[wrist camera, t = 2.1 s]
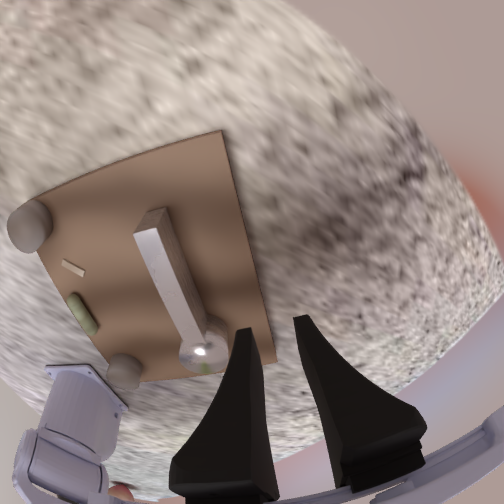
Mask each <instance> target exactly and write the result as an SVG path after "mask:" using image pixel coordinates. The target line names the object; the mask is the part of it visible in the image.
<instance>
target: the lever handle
mask: <svg viewBox="0 0 504 504" xmlns="http://www.w3.org/2000/svg"><path fill="white" fill-rule="evenodd" d="M133 236H134V238H135V241H136V243H137V246H138V248H139V250H140V252H141V255H142V257H143V259H144V262H145V264H146V266H147V268H148V271H149V273H150V275H151V277H152V279H153V281H154V284H155V286H156V288H157V290H158V292H159V294H160V296H161V298H162V300H163V302H164V304H165V306H166V308H167V310H168V312H169V314H170V316H171V318H172V320H173V322H174V324H175V326H176V328H177V330H178V332H179V334H180V336H181V343H180V351H179V361H180V363H181V364H182V365H183V366H184V367H185V368H186V369H188V370H190V371H192V372H195V373H200V374H212V373H216V372H219V371H221V370H222V369H224V368H225V367H226V366H227V364H228V360H229V359H228V332H227V326H226V324H225V323H224V322H223V321H222V320H221V319H219V318H217V317H215V316H213V315H208V314H207V313H206V311H205V308H204V306H203V304H202V301H201V299H200V296H199V294H198V291H197V289H196V286H195V284H194V281H193V279H192V276H191V273H190V271H189V268H188V266H187V263H186V260H185V258H184V255H183V252H182V250H181V247H180V244H179V242H178V239H177V236H176V233H175V230H174V228H173V225H172V222H171V219H170V216H169V213H168V210H167V208H166V207H164V208H160V209H157V210H153V211H150V212H146V213H145V215H144V216H143V218H142V220H141V221H140V223H139V224H138V226H137V228H136V229H135V231H134V233H133Z"/></svg>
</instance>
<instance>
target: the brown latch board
mask: <svg viewBox="0 0 504 504" xmlns="http://www.w3.org/2000/svg"><path fill="white" fill-rule="evenodd" d="M164 207H166V208H167V210H168V213H169V216H170V219H171V222H172V225H173V228H174V230H175V233H176V236H177V239H178V242H179V244H180V247H181V250H182V252H183V255H184V258H185V260H186V263H187V266H188V268H189V271H190V273H191V276H192V279H193V281H194V284H195V286H196V289H197V291H198V294H199V296H200V299H201V301H202V304H203V306H204V308H205V311H206V313H207V314H208V315H213V316H215V317H217V318H219V319H221V320H222V321H223V322H224V323H225V324H226V326H227V332H228V359H230V356H231V352H232V348H233V344H234V339H235V333H236V331H237V330H238V329H243V328H248V327H251V328H252V332H253V335H254V338H255V341H256V344H257V348H258V351H259V354H260V359H261V364H262V365H266V364H271V363H276V362H278V361H277V356H276V351H275V346H274V342H273V338H272V334H271V330H270V326H269V322H268V318H267V314H266V310H265V306H264V302H263V298H262V294H261V290H260V286H259V282H258V277H257V273H256V269H255V265H254V261H253V257H252V253H251V249H250V245H249V241H248V237H247V233H246V229H245V225H244V221H243V216H242V212H241V208H240V204H239V200H238V196H237V192H236V188H235V184H234V180H233V176H232V172H231V168H230V164H229V159H228V155H227V151H226V147H225V143H224V139H223V135H222V131H221V130H218V131H214V132H210V133H207V134H203V135H199V136H195V137H192V138H188V139H185V140H181V141H178V142H174V143H171V144H168V145H164V146H161V147H158V148H155V149H152V150H149V151H146V152H143V153H140V154H137V155H134V156H131V157H128V158H126V159H123V160H120V161H117V162H115V163H112V164H109V165H107V166H104V167H102V168H99V169H97V170H94V171H92V172H89V173H87V174H85V175H82V176H80V177H78V178H75V179H73V180H71V181H68V182H66V183H64V184H62V185H60V186H57V187H55V188H53V189H51V190H49V191H47V192H45V193H43V194H41V195H39V196H37V197H35V198H33V199H31V200H29V201H27V202H26V203H24V204H23V205H21V206H20V207H19V208H17V210H16V211H14V212H13V213H12V214H11V215H10V216H9V218H8V221H7V231H8V235H9V237H10V240H11V241H12V243H13V244H14V246H15V247H16V248H17V249H19V250H20V251H22V252H24V253H33V252H35V251H37V253H38V255H39V257H40V259H41V261H42V263H43V265H44V266H45V268H46V270H47V272H48V274H49V276H50V277H51V279H52V281H53V283H54V284H55V286H56V288H57V289H58V291H59V293H60V294H61V296H62V298H63V299H64V301H65V303H66V304H67V306H68V307H69V309H70V310H71V312H72V314H73V315H74V317H75V318H76V320H77V321H78V323H79V324H80V325H81V327H82V328H83V330H84V331H85V333H86V334H87V336H88V337H89V338H90V340H91V341H92V342H93V344H94V345H95V347H96V348H97V349H98V351H99V352H100V353H101V354H102V356H103V357H104V358H105V360H106V361H107V362H108V363H109V367H108V371H107V374H106V377H107V379H108V381H109V382H110V383H111V384H113V385H114V386H116V387H118V388H121V389H125V390H134V389H137V388H138V387H139V383H140V382H147V381H158V380H169V379H178V378H186V377H194V376H202V375H209V374H200V373H195V372H192V371H190V370H188V369H186V368H185V367H184V366H183V365H182V364H181V363H180V361H179V351H180V343H181V336H180V334H179V332H178V330H177V328H176V326H175V324H174V322H173V320H172V318H171V316H170V314H169V312H168V310H167V308H166V306H165V304H164V302H163V300H162V298H161V296H160V294H159V292H158V290H157V288H156V286H155V284H154V281H153V279H152V277H151V275H150V273H149V271H148V268H147V266H146V264H145V262H144V259H143V257H142V255H141V252H140V250H139V248H138V246H137V243H136V241H135V238H134V236H133V233H134V231H135V229H136V228H137V226H138V224H139V223H140V221H141V220H142V218H143V216H144V215H145V213H146V212H150V211H153V210H157V209H160V208H164ZM228 362H229V360H228ZM227 365H228V364H227ZM226 368H227V366H226V367H225V368H224V369H222V370H221V371H219V372H216V373H222V372H225V371H226ZM212 374H215V373H212Z"/></svg>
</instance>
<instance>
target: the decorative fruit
mask: <svg viewBox="0 0 504 504" xmlns="http://www.w3.org/2000/svg"><path fill="white" fill-rule="evenodd" d="M108 495H111V496H115V497H117V498H119V499H121V500H125V501H131V502H134V498H133V495H132V493H131V492H130V490H129V489H128V488H127V487H125V486H124V485H123V484H121V485H116V486H113V487H111V488H109V489H108Z"/></svg>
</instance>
